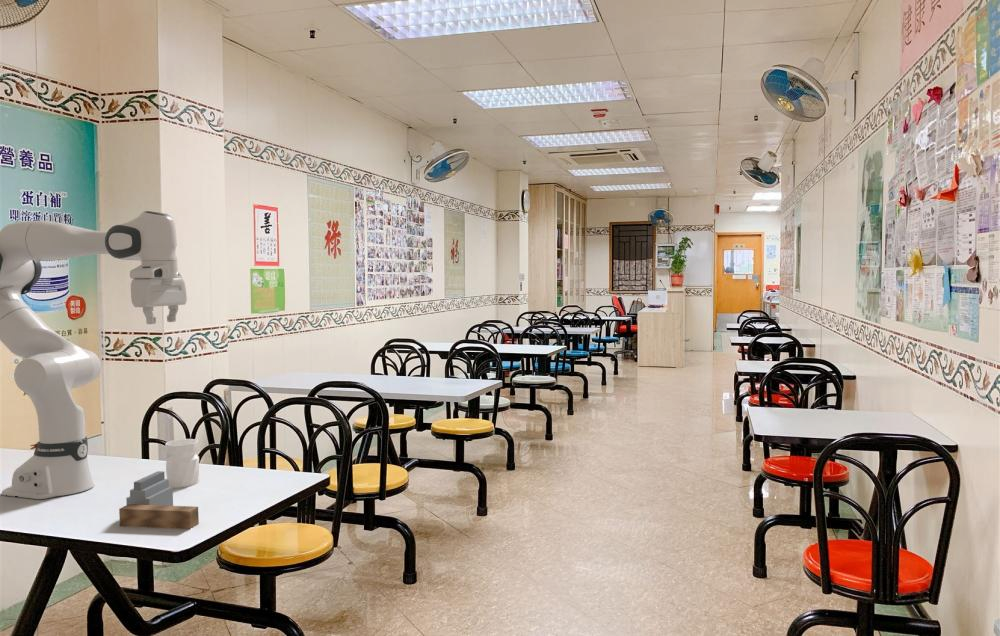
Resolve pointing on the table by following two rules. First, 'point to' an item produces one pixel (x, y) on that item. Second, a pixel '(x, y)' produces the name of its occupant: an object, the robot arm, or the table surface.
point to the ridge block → (151, 491)
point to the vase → (182, 463)
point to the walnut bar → (159, 516)
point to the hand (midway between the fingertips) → (161, 323)
